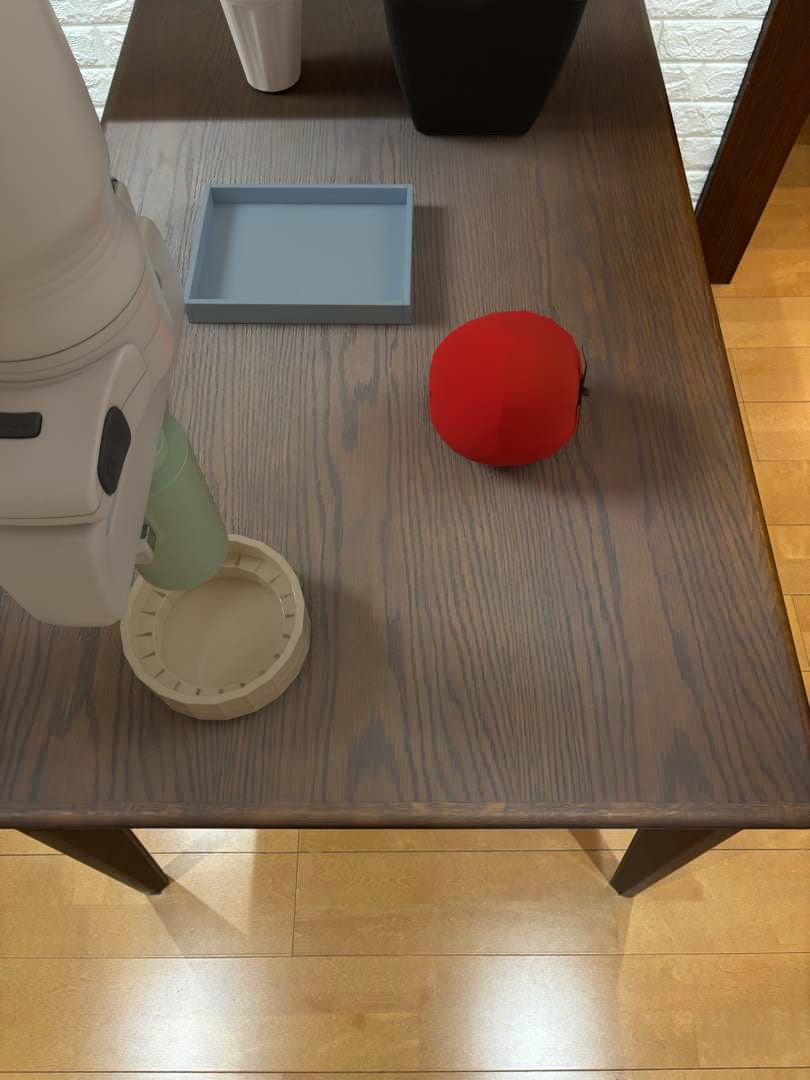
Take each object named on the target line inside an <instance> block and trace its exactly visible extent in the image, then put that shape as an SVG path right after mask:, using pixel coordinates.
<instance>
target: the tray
mask: <svg viewBox="0 0 810 1080" xmlns="http://www.w3.org/2000/svg"><path fill="white" fill-rule="evenodd" d="M201 199H202V200H201V204H200V210H199V213H198V214H199V215H198V219H197V225H196V230H195V235H194V240H193V245H192V252H191V256H190V259H189V260H190V262H189V267H188V272H187V277H186V281H185V286H184V287H185V288H184V290H183V291H184V298H185V316H186V318H187V321H188V323H192V324H193V323H195V324H196V323H199V324H202V323H205V324H207V323H208V324H209V323H210V324H314V325H315V324H317V325H319V324H320V325H321V324H327V325H328V324H329V325H334V324H335V325H337V324H338V325H411V314H412V312H411V311H412V310H411V307H412V276H413V275H412V273H413V271H412V269H413V234H414V184H413V183H223V182H222V183H221V182H220V183H217V182H215V183H214V182H213V183H208V182H207V183H205V184H204V189H203V194H202V198H201Z"/></svg>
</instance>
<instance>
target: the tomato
mask: <svg viewBox="0 0 810 1080" xmlns="http://www.w3.org/2000/svg"><path fill="white" fill-rule="evenodd" d="M581 350H582V351H581V352H582V354H583V359H584V365H585V366H584V368H583V363H582V359H581V358H582V356H581V352H580V350H579V348H578V347H577V343H576V342H575V339H574V336H573V335H572V334H571V333H569V332H568V331H567V330H566V329H565V328H564V327H562V326H561V325H560V324H559V323H557V322H556V321H555V320H554V319H552V318H551V317H548V316H545V315H542V314H539V313H536V312H534V311H531V310H527V309H520V310H507V311H498V312H492V313H488V314H486V315H485V314H484V315H482V316H479V317H477V318H473V319H471V320H467V321H466V322H465V323H463V324H462V325H460V326H458V327H456V328H455V329H453V330H451V332H449V334H448V335H447V336H446V337H445V338H444V339H443V340H442V341H441V342H440V343H439V344H438V345H437V347H436V348H435V350H434V352H433V354H432V357H431V363H430V368H429V372H428V388H427V389H428V391H427V394H428V395H427V399H428V407H429V408H428V409H429V417H430V418H429V419H430V421H431V424H432V426H433V427H434V429H435V432H436V433H437V435H438V436H439V437H440V438H441V440H442V441H443V442H444V443H445V444H446V445H447V446H448V448H450V449H451V450H452V451H453V452H454V453H456V454H457V455H459V456H461V457H463V458H466V459H467V460H469V461H471V462H475V463H479V464H483V465H487V466H491V467H515V466H517V467H518V466H520V467H521V466H525V465H529V464H532V463H535V462H539V461H541V460H545V459H548V458H550V457H552V456H553V455H555V454H556V453H557V452H558V451H560V450H561V449H563V448H564V446H566V445H567V444H568V443H569V442H570V440H571V439H572V437H573V436H574V435H575V433H578V432H579V425H580V419H581V421H582V420H583V415H582V403H583V397H585V398H586V397H587V398H588V397H590V394H591V389H592V388H590V387H585V383H586V377H587V373H588V361H587V358H586V356H585V355H586V354H585V352H584V344H582V346H581ZM583 369H584V370H583ZM583 371H584V372H583ZM577 437H578V434H576V436H575V439H577Z"/></svg>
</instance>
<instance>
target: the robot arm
mask: <svg viewBox="0 0 810 1080" xmlns="http://www.w3.org/2000/svg"><path fill="white" fill-rule="evenodd" d="M91 97H92V96H91V94H90V92H89V89H88V87H87V84H86V81H85V79H84V77H83V74H82V72H81V70H80V67H79V64H78V62H77V59H76V58H75V55H74V53H73V50H72V48H71V46H70V44H69V41H68V39H67V36H66V33H65V31H64V29H63V27H62V25H61V23H60V20H59V18H58V16H57V14H56V12H55V10H54V8H53V5H52V3H51V1H50V0H0V586H1V587H2V588H3V589H4V590H5V591H6V593H7V594H8V595H9V596H10V597H11V598H12V599H13V600H14V601H15V602H16V603H17V604H18V605H19V606H20V607H22V608H23V609H24V610H25V611H26V612H27V614H29V615H30V616H32V617H33V618H34V619H36V620H38V621H39V622H41V623H44V624H47V625H53V626H59V627H72V628H73V627H74V628H77V627H78V628H100V627H109V626H112V625H115V624H116V623H117V622H118V621H120V620H121V618H122V617H123V615H124V614H125V612H126V609H127V604H128V598H129V592H130V590H131V588H132V581H133V577H134V571H135V564H150V563H152V560H153V555H154V550H155V544H156V536H155V535H153V531H152V529H151V527H150V526H149V525H143V522H144V517H145V511H146V506H147V501H148V496H149V491H150V486H151V481H152V476H153V471H154V466H155V455H156V450H157V445H158V440H159V435H160V430H161V427H162V425H163V420H164V415H165V411H166V412H167V413H169V414H171V415H172V416H173V417H174V418H175V415H174V414H173V406H172V405H173V403H172V401H173V400H172V389H171V384H172V380H173V375H174V371H175V370H174V369H175V364H176V359H177V354H178V349H179V345H180V344H179V343H180V338H181V334H182V329H183V325H184V319H185V316H186V313H185V298H184V291H185V290H184V286H183V281H182V280H181V277H180V275H179V272H178V269H177V267H176V264H175V262H174V259H173V257H172V254H171V252H170V250H169V248H168V246H167V243H166V242H165V239H164V237H163V235H162V233H161V231H160V230H159V227H158V226H157V225H156V223H155V222H154V221H153V220H152V219H151V218H150V217H148V216H145V215H137V213H136V210H135V207H134V204H133V201H132V199H131V196H130V193H129V190H128V187H126V185H125V183H124V182H123V181H122V180H118V179H117V178H116V177H114V176H111V175H112V173H111V157H110V151H109V145H108V142H107V141H108V140H107V138H106V135H105V133H104V129H103V126H102V124H101V120H100V119H99V115H98V113H97V111H96V108H95V105H94V103H93V100H92V98H91Z"/></svg>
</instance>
